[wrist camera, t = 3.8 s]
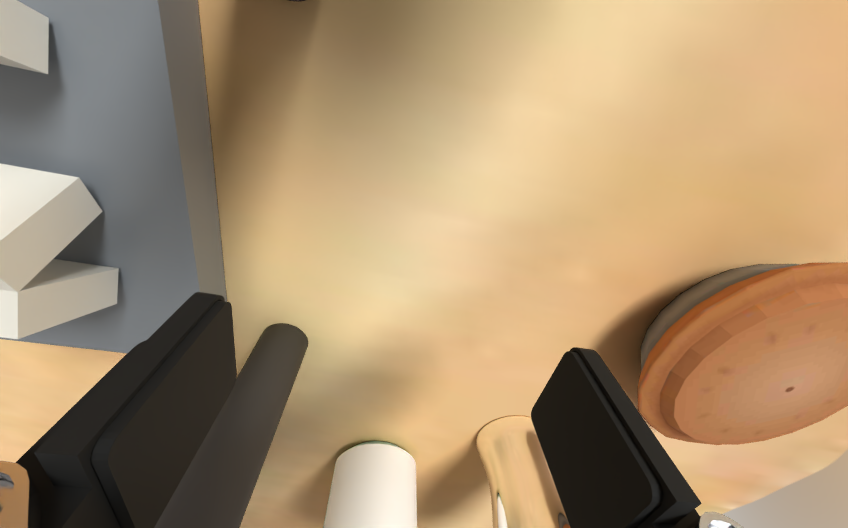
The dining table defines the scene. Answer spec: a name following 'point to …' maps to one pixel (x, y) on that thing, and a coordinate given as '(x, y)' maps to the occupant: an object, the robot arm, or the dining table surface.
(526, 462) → the beer glass
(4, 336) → the paddle
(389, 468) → the can
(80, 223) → the middle paddle
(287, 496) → the dining table surface
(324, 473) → the dining table surface
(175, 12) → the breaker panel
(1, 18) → the paddle
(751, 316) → the pie
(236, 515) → the rod
